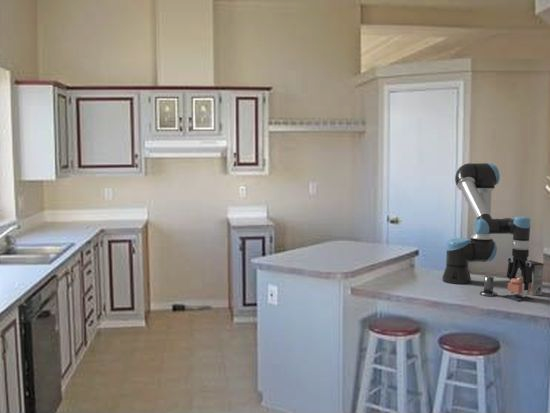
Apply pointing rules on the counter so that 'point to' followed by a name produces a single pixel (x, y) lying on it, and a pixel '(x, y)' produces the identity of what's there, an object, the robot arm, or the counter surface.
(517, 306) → the counter surface
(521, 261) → the robot arm
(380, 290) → the counter surface
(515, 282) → the cap
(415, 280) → the counter surface
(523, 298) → the dark grey square plate
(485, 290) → the post
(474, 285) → the counter surface
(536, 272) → the coffee box
